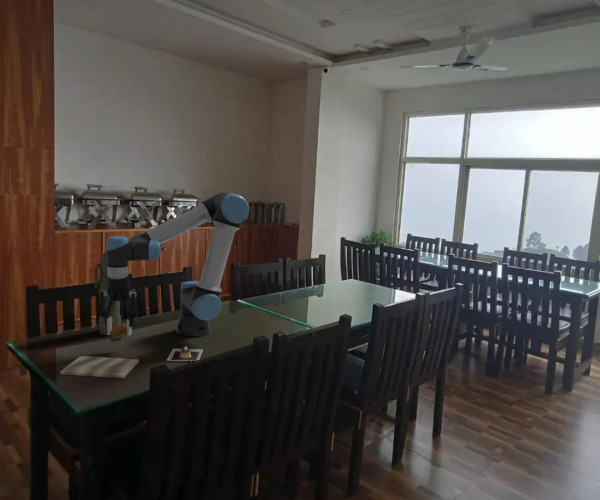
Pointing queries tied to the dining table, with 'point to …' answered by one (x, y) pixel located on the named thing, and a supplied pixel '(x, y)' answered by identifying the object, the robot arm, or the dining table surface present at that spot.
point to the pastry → (119, 330)
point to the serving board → (100, 367)
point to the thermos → (104, 286)
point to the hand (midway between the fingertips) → (119, 334)
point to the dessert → (185, 353)
